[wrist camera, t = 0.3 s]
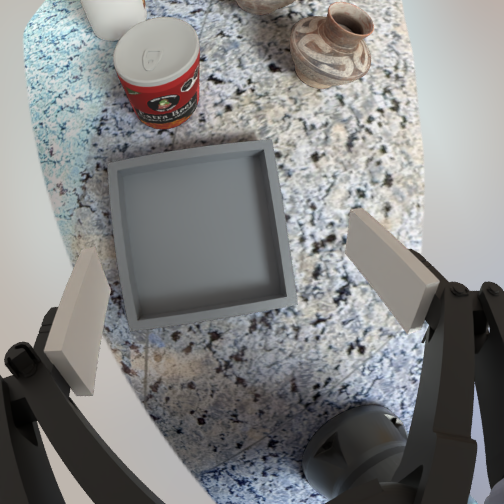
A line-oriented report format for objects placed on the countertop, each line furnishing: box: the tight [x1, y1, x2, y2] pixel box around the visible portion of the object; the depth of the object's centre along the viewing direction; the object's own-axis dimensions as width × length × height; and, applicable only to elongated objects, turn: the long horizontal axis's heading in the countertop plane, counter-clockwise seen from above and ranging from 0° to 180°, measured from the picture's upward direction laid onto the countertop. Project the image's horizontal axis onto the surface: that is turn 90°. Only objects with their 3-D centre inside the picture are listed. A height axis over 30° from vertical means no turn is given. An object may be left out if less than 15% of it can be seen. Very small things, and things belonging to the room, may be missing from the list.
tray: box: [107, 139, 298, 332], centre depth 31 cm, size 17×17×3 cm
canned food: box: [113, 17, 200, 129], centre depth 27 cm, size 8×8×11 cm
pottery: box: [235, 0, 374, 89], centre depth 28 cm, size 11×25×12 cm, turn 32°
